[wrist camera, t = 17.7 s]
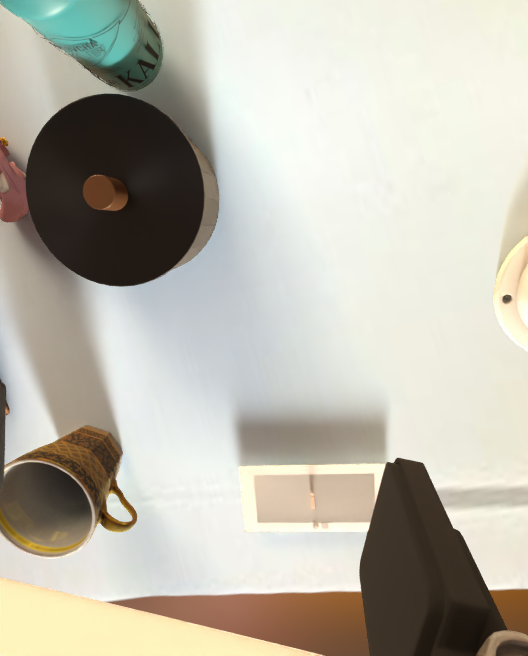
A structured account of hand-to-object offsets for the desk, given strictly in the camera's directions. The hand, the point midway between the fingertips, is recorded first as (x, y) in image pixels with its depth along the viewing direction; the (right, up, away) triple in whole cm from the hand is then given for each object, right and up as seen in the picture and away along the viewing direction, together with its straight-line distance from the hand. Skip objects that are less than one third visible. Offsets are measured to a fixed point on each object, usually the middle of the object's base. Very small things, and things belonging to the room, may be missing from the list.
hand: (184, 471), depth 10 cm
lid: (-10, +14, +24) cm, 29 cm away
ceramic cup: (-15, -11, +38) cm, 42 cm away
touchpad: (+7, -14, +37) cm, 40 cm away
